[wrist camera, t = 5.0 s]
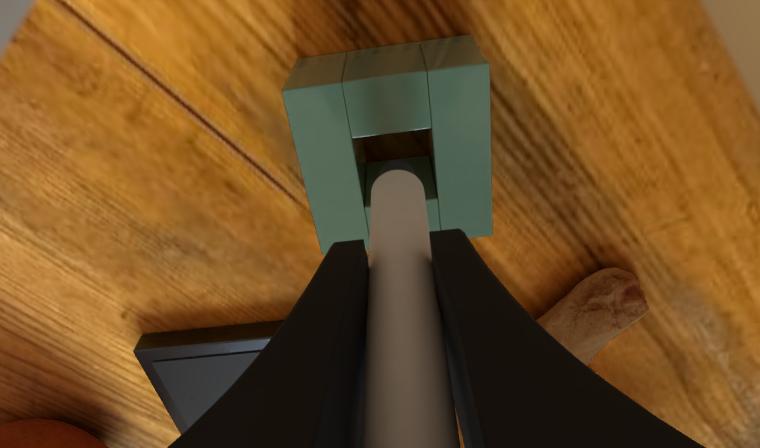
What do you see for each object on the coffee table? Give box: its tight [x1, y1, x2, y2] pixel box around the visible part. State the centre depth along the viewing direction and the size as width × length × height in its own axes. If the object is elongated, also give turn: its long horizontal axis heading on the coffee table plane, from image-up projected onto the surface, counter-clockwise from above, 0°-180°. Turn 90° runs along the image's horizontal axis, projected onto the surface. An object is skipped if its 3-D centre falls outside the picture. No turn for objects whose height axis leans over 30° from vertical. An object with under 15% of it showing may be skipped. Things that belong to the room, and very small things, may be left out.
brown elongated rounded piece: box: [536, 267, 649, 366], centre depth 21 cm, size 8×2×5 cm
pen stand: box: [281, 34, 493, 255], centre depth 16 cm, size 5×5×3 cm
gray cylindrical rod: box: [362, 160, 460, 448], centre depth 11 cm, size 1×1×9 cm
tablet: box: [133, 320, 284, 435], centre depth 26 cm, size 16×8×1 cm, turn 8°
